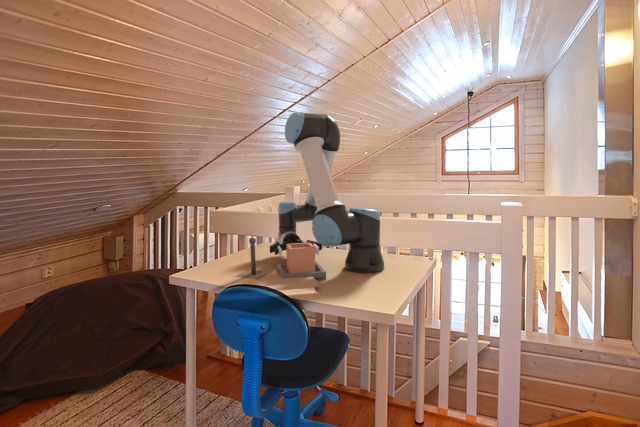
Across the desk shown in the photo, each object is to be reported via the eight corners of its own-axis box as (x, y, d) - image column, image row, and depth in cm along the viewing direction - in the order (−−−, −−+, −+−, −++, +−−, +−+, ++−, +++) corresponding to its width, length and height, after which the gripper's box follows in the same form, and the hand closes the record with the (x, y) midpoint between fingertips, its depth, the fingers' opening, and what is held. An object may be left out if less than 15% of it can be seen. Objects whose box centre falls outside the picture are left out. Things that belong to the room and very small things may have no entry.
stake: (273, 275, 144) (271, 235, 142) (258, 283, 135) (257, 241, 133) (249, 273, 148) (248, 234, 146) (233, 280, 139) (232, 239, 137)
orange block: (310, 268, 151) (310, 242, 149) (315, 274, 142) (314, 247, 141) (286, 270, 149) (286, 243, 147) (290, 276, 140) (289, 248, 139)
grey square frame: (317, 267, 154) (316, 261, 154) (326, 278, 139) (326, 272, 139) (277, 270, 151) (277, 264, 151) (282, 282, 136) (282, 275, 136)
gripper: (320, 248, 168) (332, 260, 148) (261, 252, 163) (265, 264, 142) (320, 231, 167) (332, 240, 147) (260, 234, 162) (264, 244, 141)
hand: (299, 252), depth 144 cm, fingers open, 13 cm apart
